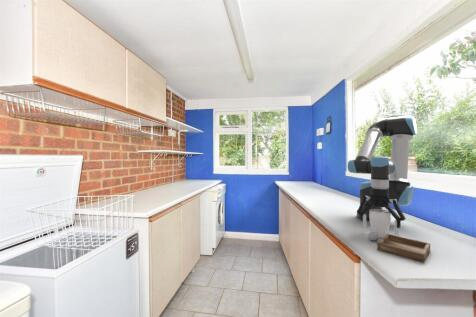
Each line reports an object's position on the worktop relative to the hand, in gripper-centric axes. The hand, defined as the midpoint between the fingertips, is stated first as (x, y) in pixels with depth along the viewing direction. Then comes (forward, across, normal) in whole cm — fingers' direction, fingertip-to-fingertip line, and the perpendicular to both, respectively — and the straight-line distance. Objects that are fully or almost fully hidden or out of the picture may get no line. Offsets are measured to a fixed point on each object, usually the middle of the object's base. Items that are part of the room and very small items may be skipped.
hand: (379, 230), depth 108 cm
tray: (+2, +12, -12) cm, 17 cm away
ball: (+2, 0, -10) cm, 10 cm away
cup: (+2, 0, 0) cm, 2 cm away
